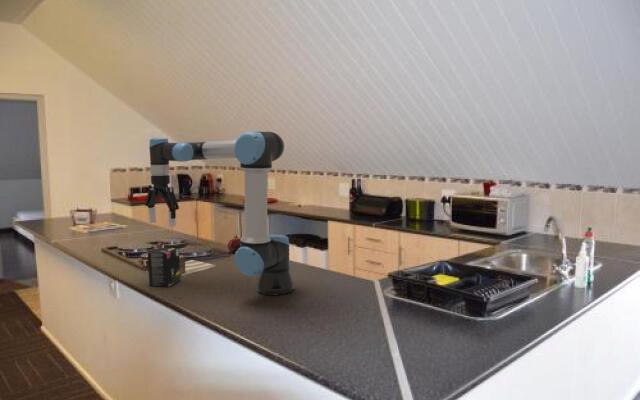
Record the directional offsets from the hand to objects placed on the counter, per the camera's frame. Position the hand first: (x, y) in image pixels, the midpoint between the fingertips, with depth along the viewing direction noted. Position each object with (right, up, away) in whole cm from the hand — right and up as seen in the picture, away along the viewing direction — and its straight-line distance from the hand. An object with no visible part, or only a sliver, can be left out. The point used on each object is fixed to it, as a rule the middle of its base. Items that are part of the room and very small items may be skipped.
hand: (162, 224), depth 209 cm
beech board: (+4, -22, +27) cm, 35 cm away
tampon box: (0, -26, +3) cm, 26 cm away
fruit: (+22, -18, +58) cm, 64 cm away
